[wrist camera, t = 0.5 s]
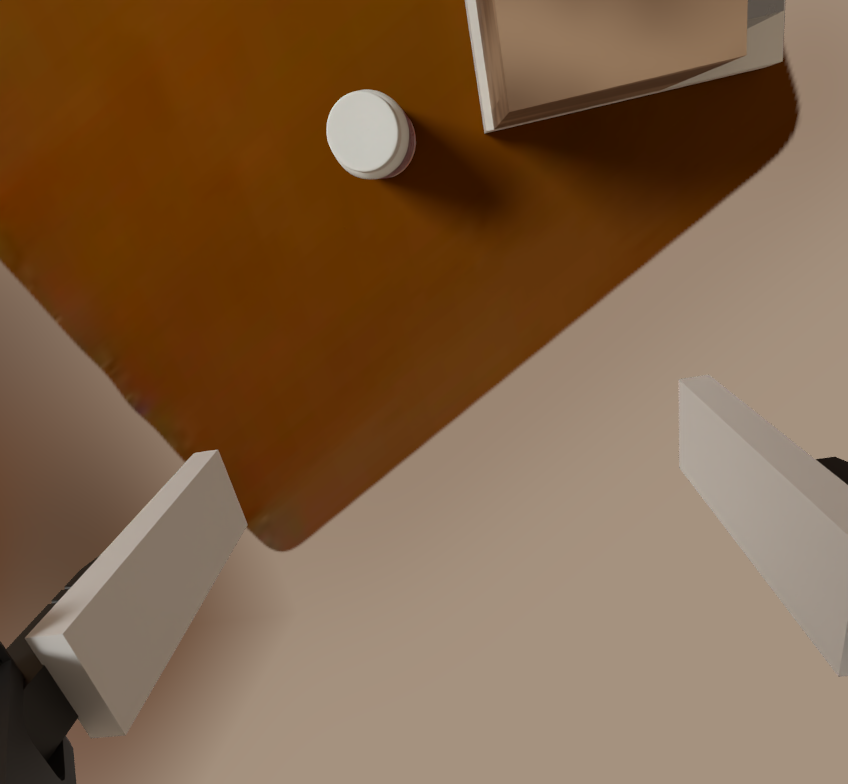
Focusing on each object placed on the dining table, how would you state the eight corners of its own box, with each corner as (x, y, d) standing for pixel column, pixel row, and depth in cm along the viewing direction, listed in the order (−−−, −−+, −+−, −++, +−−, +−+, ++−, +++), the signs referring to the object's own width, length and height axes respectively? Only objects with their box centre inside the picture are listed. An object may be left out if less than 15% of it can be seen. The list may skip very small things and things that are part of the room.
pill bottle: (415, 101, 35) (404, 80, 27) (416, 178, 37) (407, 179, 29) (345, 103, 35) (315, 82, 27) (350, 179, 37) (323, 180, 29)
